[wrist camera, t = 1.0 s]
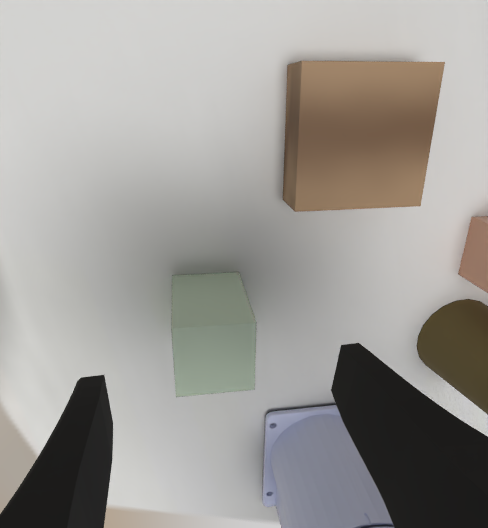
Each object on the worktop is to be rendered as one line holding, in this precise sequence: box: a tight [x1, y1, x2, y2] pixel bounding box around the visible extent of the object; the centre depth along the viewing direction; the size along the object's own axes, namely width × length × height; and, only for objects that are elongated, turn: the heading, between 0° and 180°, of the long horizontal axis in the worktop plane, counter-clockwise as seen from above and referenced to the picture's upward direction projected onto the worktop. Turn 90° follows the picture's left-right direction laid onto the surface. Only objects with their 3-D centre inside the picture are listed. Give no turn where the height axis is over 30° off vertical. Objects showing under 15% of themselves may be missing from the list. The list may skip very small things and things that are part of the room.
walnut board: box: [283, 61, 445, 212], centre depth 21 cm, size 7×7×3 cm
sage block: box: [171, 272, 256, 397], centre depth 23 cm, size 4×4×6 cm
